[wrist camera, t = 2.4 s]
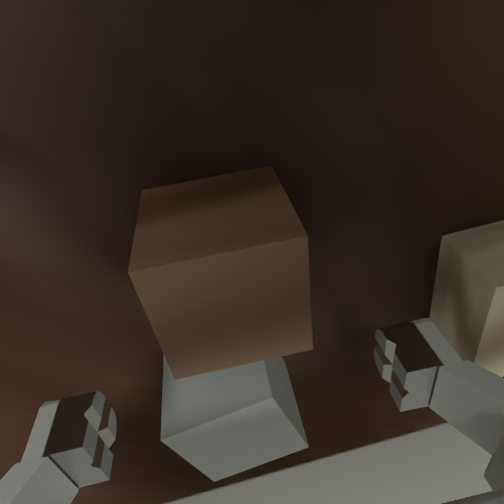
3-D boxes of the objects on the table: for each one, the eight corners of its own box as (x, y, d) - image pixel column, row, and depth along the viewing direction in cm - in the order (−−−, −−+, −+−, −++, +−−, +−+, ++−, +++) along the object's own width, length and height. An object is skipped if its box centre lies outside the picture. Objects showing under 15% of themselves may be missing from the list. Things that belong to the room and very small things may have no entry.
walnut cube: (141, 189, 14) (128, 272, 10) (271, 164, 14) (307, 236, 10) (175, 286, 17) (175, 379, 13) (281, 264, 17) (313, 349, 13)
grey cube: (164, 345, 19) (160, 440, 15) (252, 308, 19) (272, 397, 15) (207, 391, 22) (214, 481, 18) (284, 361, 22) (308, 447, 18)
